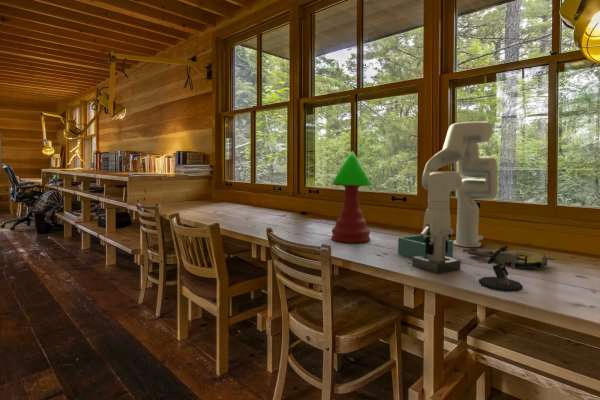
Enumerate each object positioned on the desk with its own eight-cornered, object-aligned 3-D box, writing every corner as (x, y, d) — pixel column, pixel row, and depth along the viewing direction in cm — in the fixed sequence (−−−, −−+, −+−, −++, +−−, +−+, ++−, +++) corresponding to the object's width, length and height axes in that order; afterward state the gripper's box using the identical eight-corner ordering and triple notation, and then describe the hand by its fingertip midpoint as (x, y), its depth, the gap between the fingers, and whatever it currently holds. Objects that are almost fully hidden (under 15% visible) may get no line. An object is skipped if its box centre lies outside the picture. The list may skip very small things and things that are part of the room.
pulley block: (474, 239, 167) (556, 250, 146) (474, 251, 169) (555, 265, 148) (461, 249, 158) (546, 263, 137) (461, 262, 159) (545, 278, 138)
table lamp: (374, 237, 202) (376, 150, 198) (364, 245, 184) (366, 149, 180) (338, 234, 210) (339, 151, 206) (325, 241, 192) (326, 150, 188)
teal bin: (424, 249, 175) (424, 234, 174) (452, 257, 161) (453, 240, 160) (397, 253, 167) (398, 237, 167) (425, 261, 154) (426, 244, 153)
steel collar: (434, 262, 153) (435, 253, 153) (460, 269, 143) (460, 260, 142) (412, 265, 147) (412, 256, 147) (437, 274, 137) (437, 264, 137)
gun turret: (469, 272, 139) (470, 237, 137) (531, 286, 124) (533, 246, 122) (451, 279, 130) (453, 242, 129) (515, 295, 115) (518, 253, 114)
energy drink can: (429, 264, 149) (430, 226, 148) (445, 266, 146) (447, 227, 145) (426, 268, 144) (427, 228, 142) (443, 270, 141) (444, 230, 139)
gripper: (446, 203, 150) (444, 248, 152) (413, 205, 142) (411, 253, 144) (462, 205, 144) (460, 252, 145) (429, 208, 135) (427, 258, 137)
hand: (436, 252), depth 144 cm, fingers open, 6 cm apart
